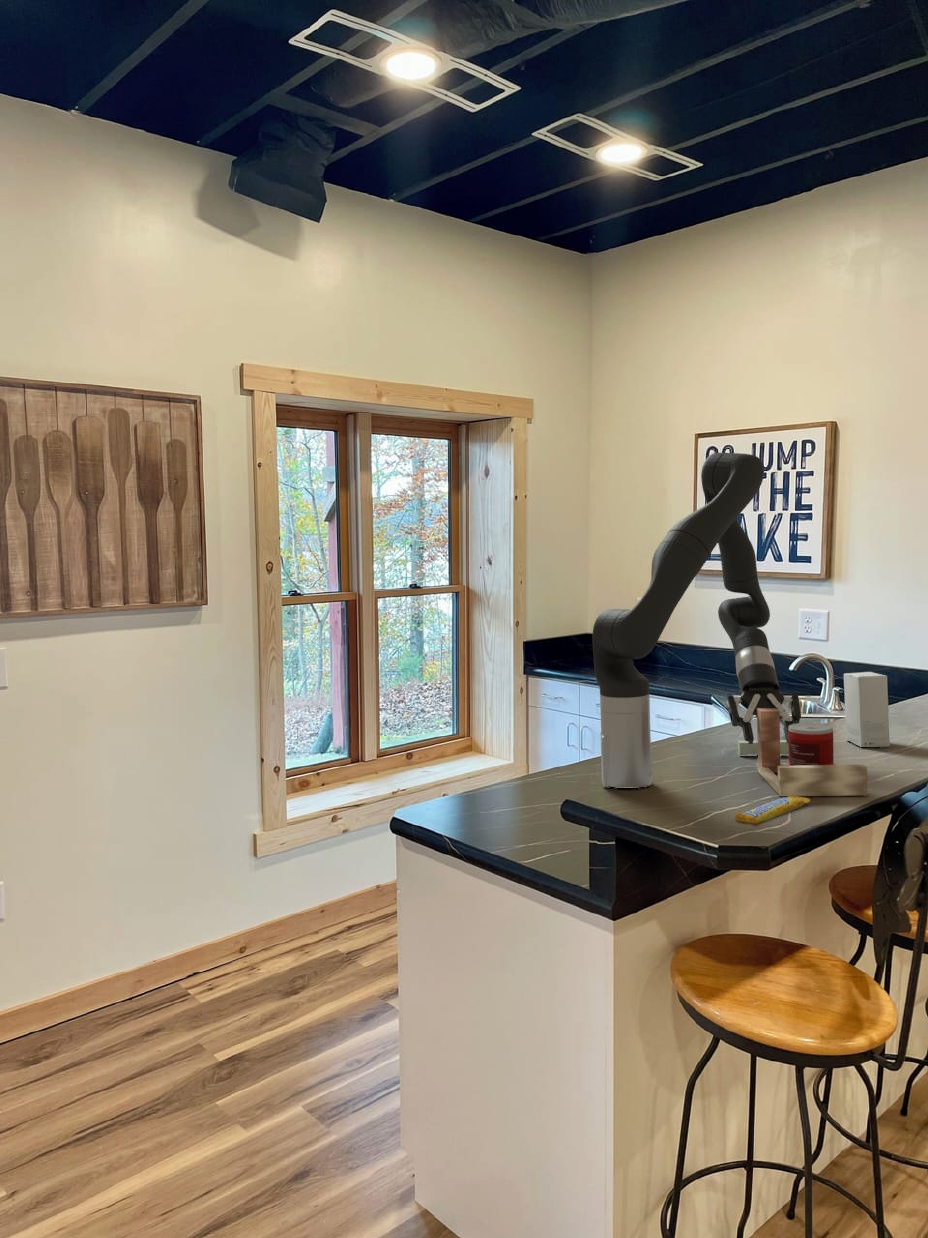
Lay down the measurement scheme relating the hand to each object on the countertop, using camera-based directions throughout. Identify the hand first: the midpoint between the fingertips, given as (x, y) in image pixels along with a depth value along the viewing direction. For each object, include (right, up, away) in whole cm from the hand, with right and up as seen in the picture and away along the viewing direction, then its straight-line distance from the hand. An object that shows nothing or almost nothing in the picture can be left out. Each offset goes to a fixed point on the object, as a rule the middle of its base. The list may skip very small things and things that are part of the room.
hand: (770, 741), depth 173 cm
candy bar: (-8, -9, -25) cm, 28 cm away
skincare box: (+29, -4, +23) cm, 37 cm away
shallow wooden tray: (+4, -7, -8) cm, 11 cm away
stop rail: (+7, -5, +16) cm, 18 cm away
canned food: (+4, -7, -9) cm, 13 cm away
